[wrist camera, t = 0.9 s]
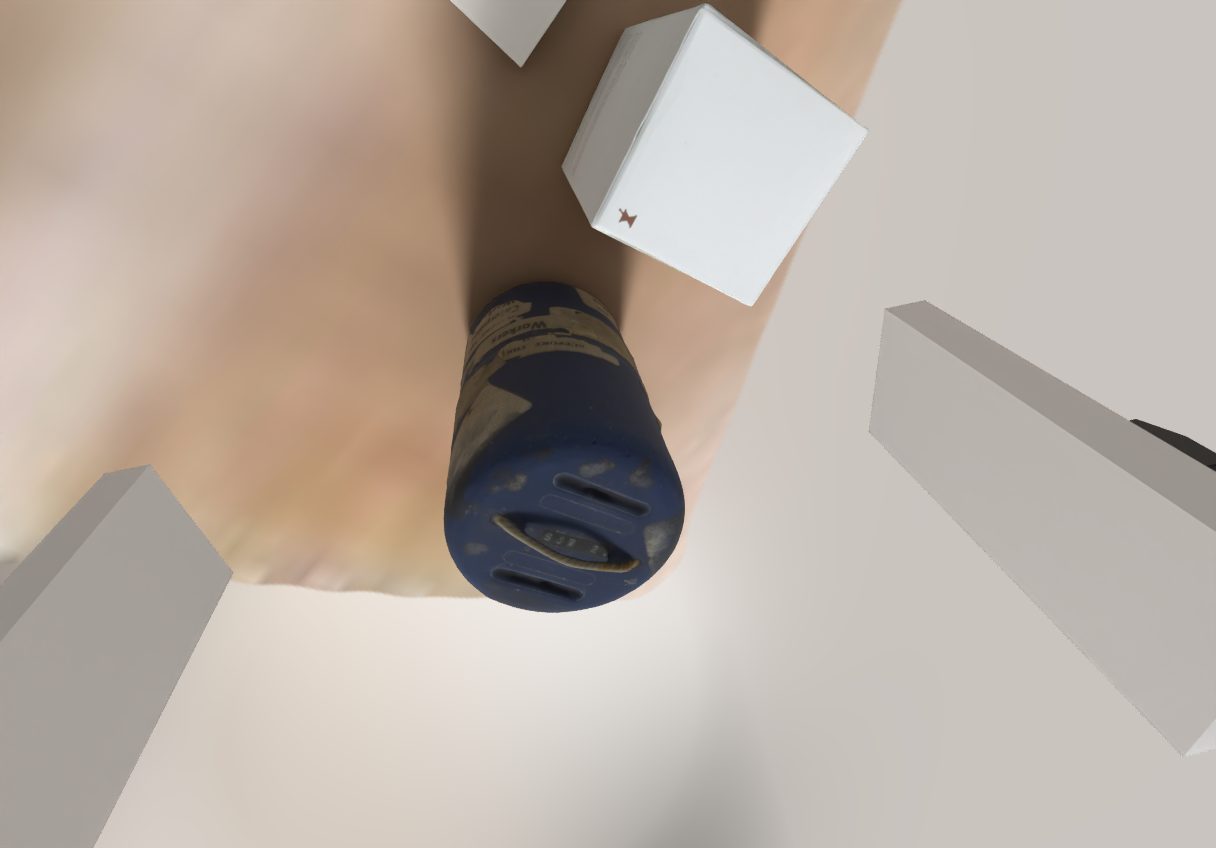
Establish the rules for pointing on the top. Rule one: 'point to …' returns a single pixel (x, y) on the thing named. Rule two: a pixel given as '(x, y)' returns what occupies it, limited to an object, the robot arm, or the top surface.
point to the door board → (512, 22)
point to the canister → (557, 458)
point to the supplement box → (706, 150)
